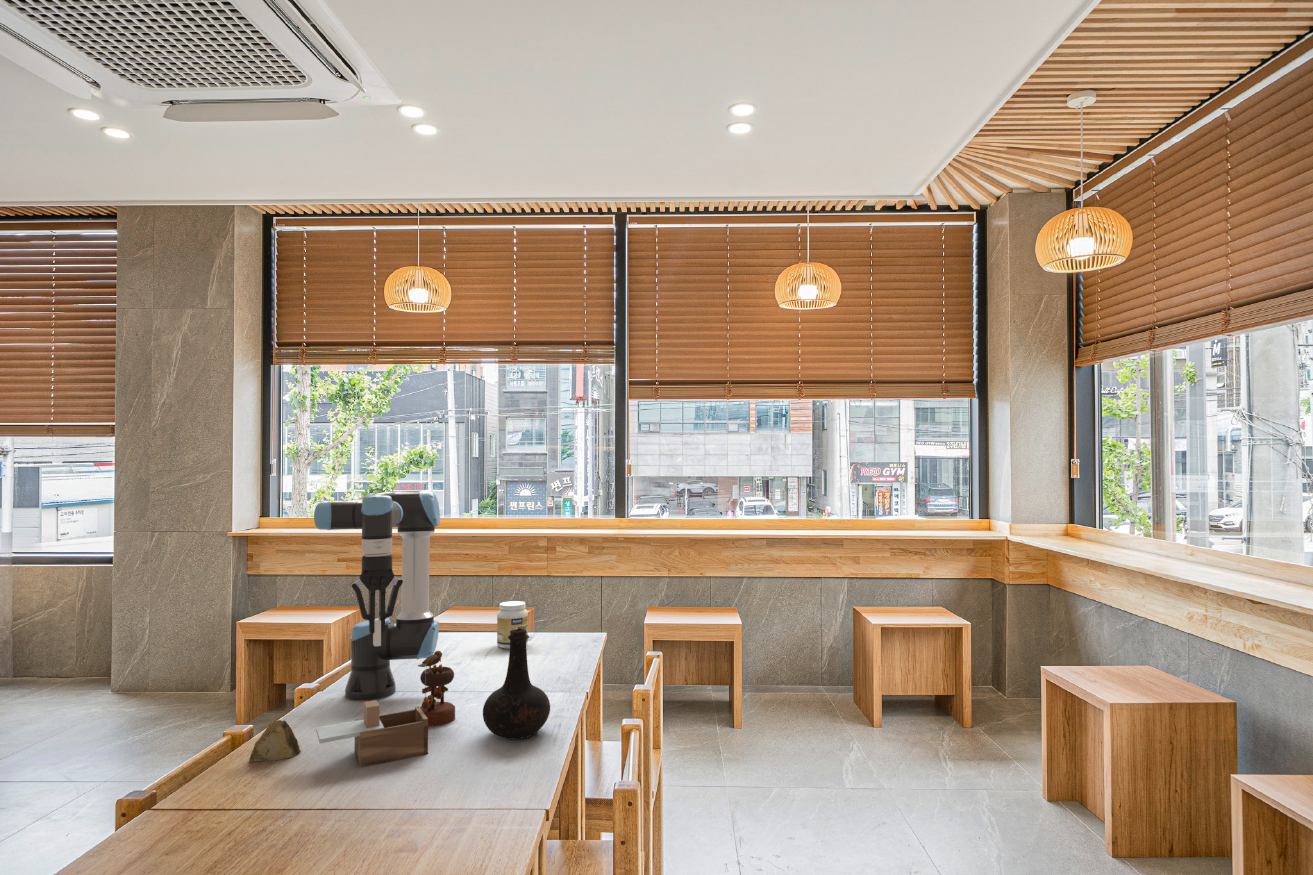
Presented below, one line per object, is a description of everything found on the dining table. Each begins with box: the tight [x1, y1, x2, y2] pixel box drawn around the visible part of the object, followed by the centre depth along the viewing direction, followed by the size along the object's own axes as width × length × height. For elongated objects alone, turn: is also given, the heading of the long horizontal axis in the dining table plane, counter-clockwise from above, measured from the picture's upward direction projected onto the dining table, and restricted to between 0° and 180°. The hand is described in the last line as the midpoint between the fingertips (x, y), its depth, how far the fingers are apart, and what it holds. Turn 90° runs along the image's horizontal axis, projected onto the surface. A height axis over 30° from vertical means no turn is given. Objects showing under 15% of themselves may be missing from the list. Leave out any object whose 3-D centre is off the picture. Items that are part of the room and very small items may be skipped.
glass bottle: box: [482, 629, 551, 740], centre depth 199 cm, size 18×18×28 cm
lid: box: [315, 699, 384, 744], centre depth 181 cm, size 9×15×6 cm, turn 120°
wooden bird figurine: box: [417, 650, 456, 727], centre depth 211 cm, size 15×11×20 cm
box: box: [353, 705, 429, 768], centre depth 186 cm, size 11×16×9 cm
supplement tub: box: [496, 600, 529, 650], centre depth 294 cm, size 12×12×17 cm
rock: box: [248, 719, 302, 763], centre depth 184 cm, size 11×9×10 cm
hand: (377, 644), depth 191 cm, fingers closed
